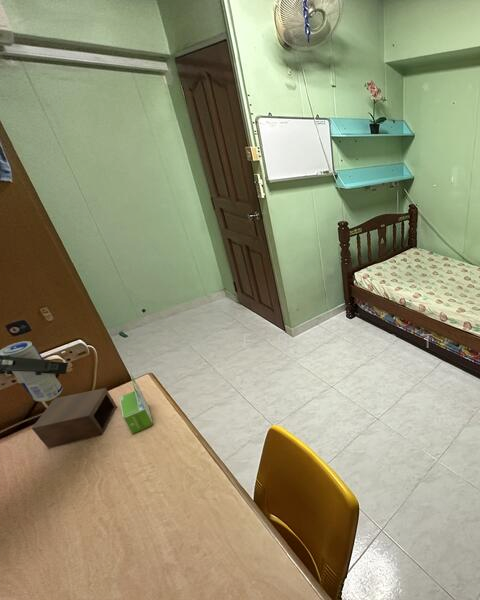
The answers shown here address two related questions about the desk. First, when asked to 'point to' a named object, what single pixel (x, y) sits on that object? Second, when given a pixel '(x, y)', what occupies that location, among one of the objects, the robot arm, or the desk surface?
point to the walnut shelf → (75, 417)
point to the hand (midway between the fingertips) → (52, 369)
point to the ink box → (135, 410)
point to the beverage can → (33, 373)
